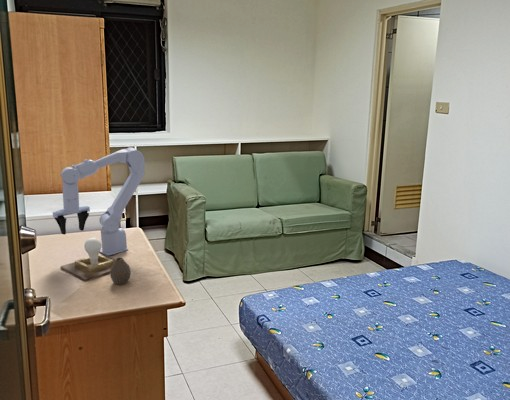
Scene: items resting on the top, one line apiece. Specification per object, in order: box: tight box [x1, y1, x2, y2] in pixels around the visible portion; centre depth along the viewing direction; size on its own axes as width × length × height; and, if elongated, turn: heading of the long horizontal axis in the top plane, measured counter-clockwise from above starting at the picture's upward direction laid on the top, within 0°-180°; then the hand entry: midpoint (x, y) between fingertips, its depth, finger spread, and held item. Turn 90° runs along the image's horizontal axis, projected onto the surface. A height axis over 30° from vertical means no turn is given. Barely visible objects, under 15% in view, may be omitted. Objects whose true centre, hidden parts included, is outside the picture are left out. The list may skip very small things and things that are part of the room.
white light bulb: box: [83, 237, 102, 265], centre depth 184 cm, size 6×6×11 cm
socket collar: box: [74, 253, 114, 273], centre depth 186 cm, size 10×10×2 cm
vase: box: [109, 257, 131, 286], centre depth 172 cm, size 7×7×9 cm
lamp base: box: [59, 253, 117, 282], centre depth 186 cm, size 18×18×1 cm
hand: (72, 231), depth 195 cm, fingers open, 7 cm apart
